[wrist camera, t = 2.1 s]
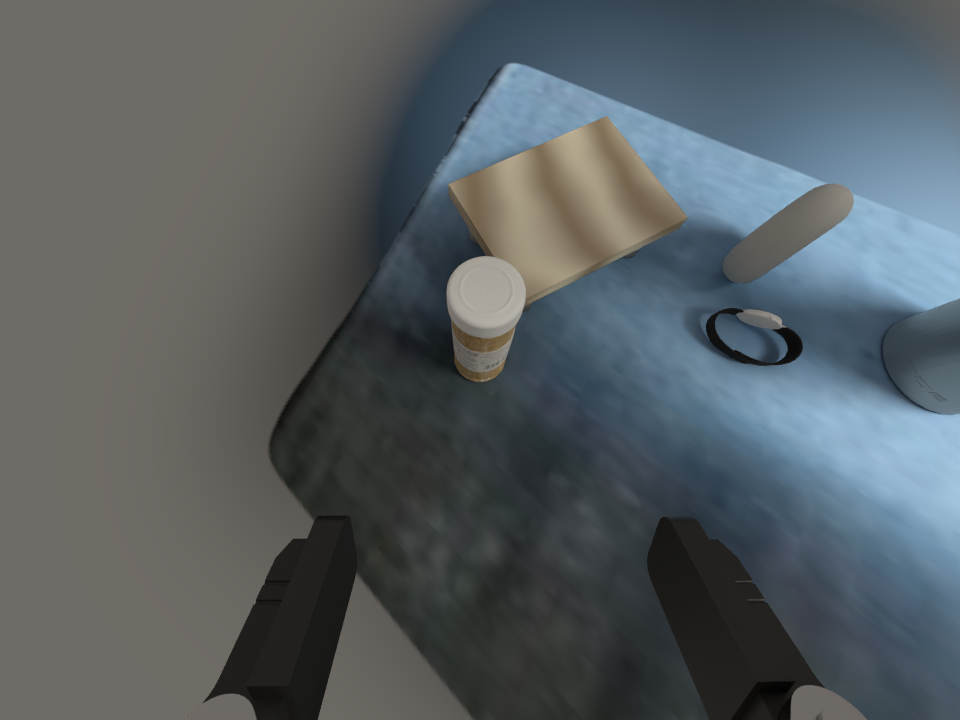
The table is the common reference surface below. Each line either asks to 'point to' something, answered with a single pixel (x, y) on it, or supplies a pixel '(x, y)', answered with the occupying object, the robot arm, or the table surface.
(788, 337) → the watch
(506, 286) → the sprinkles bottle
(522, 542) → the table surface
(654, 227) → the small wooden stool
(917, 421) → the table surface
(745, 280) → the donut
